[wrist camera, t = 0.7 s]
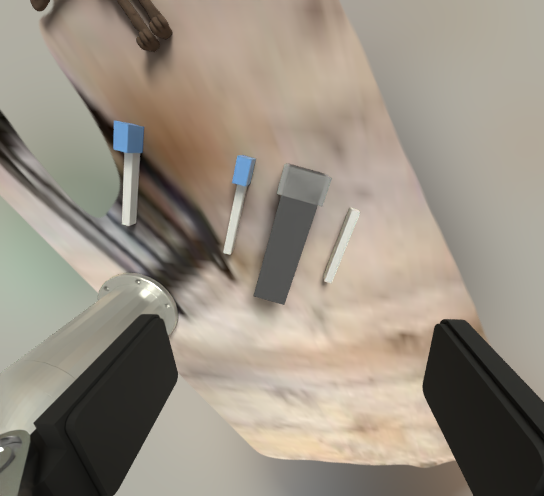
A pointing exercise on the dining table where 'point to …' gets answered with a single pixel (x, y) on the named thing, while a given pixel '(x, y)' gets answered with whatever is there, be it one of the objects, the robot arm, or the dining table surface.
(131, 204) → the white blue-tipped sticks
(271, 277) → the dark grey rectangular block
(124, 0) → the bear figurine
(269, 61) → the dining table surface
